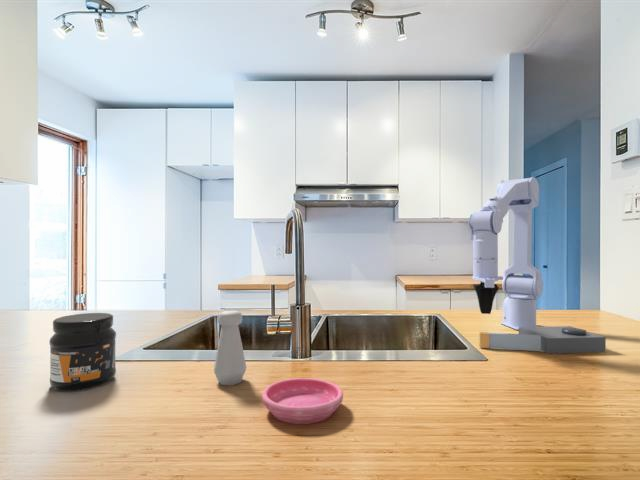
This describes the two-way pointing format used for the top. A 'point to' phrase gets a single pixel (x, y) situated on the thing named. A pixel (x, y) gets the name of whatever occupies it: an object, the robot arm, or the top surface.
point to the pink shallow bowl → (302, 400)
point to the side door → (510, 341)
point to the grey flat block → (566, 339)
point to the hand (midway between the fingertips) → (485, 313)
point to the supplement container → (82, 351)
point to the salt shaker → (230, 350)
